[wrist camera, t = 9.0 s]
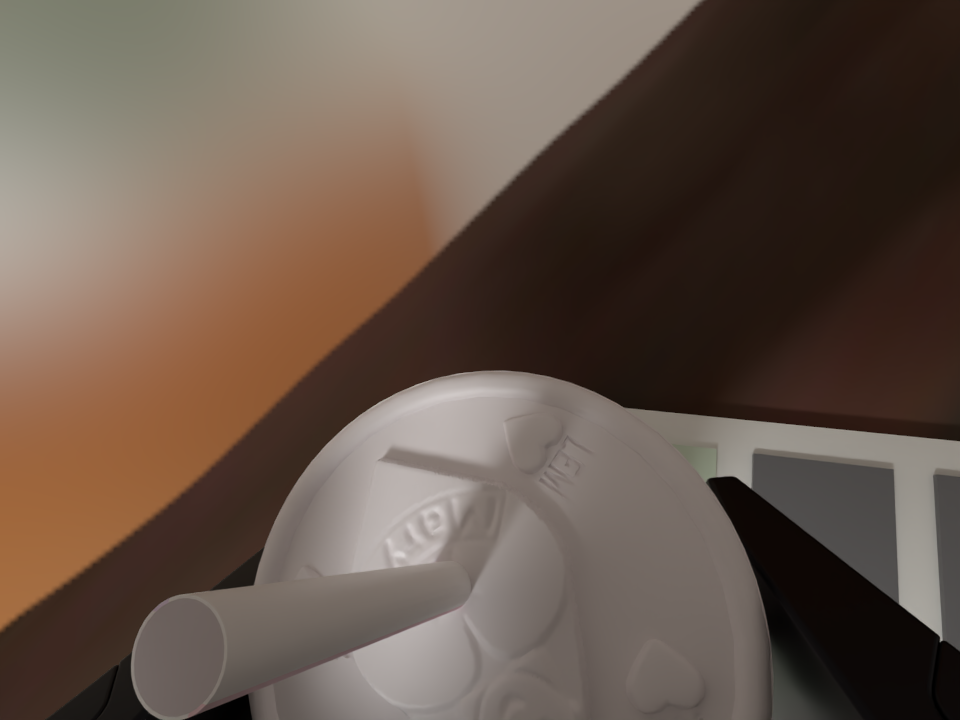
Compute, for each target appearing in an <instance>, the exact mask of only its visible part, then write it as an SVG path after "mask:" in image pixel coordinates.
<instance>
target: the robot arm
mask: <svg viewBox="0 0 960 720" xmlns="http://www.w3.org/2000/svg"><path fill="white" fill-rule="evenodd" d="M706 484H707V485H708V486H709V488H710V489H711V490H712V492H713V493H714V494H715V496H716V497H717V499H718V501H719V502H720V504H721V506H722V507H723V509H724V510H725V512H726V514H727V515H728V517H729V519H730V520H731V522H732V524H733V526H734V528H735V530H736V532H737V534H738V536H739V538H740V540H741V542H742V544H743V547H744V549H745V551H746V554H747V556H748V559H749V561H750V564H751V567H752V569H753V572H754V575H755V577H756V580H757V584H758V587H759V591H760V594H761V598H762V602H763V605H764V609H765V614H766V619H767V625H768V630H769V636H770V641H771V652H772V664H773V676H774V677H773V714H772V720H960V651H959V650H958V649H956V648H955V647H954V646H953V645H951V644H950V643H949V642H947V641H945V640H943V641H941V642H940V636H939V635H938V634H937V633H935V632H934V631H933V630H932V629H930V628H929V627H928V626H926V625H925V624H924V623H923V622H921V621H920V620H919V619H918V618H916V617H915V616H914V615H912V614H911V613H910V612H909V611H907V610H906V609H905V608H903V607H902V606H901V605H900V604H898V603H897V602H896V601H894V600H893V599H892V598H891V597H889V596H888V595H887V594H885V593H884V592H883V591H882V590H880V589H879V588H878V587H876V586H875V585H874V584H873V583H871V582H870V581H869V580H868V579H866V578H865V577H864V576H862V575H861V574H860V573H859V572H857V571H856V570H855V569H853V568H852V567H851V566H850V565H848V564H847V563H846V562H844V561H843V560H842V559H841V558H839V557H838V556H837V555H835V554H834V553H833V552H832V551H830V550H829V549H828V548H827V547H825V546H824V545H823V544H821V543H820V542H819V541H818V540H816V539H815V538H814V537H812V536H811V535H810V534H809V533H807V532H806V531H805V530H803V529H802V528H801V527H800V526H798V525H797V524H796V523H794V522H793V521H792V520H791V519H789V518H788V517H787V516H785V515H784V514H783V513H782V512H780V511H779V510H778V509H777V508H775V507H774V506H773V505H771V504H770V503H769V502H768V501H766V500H765V499H764V498H762V497H761V496H760V495H759V494H757V493H756V492H755V491H753V490H752V489H751V488H750V487H748V486H747V485H746V484H744V483H743V482H742V481H741V480H739V479H738V478H736V477H734V476H724V477H713V478H709V479H707V481H706ZM264 548H265V547H264ZM264 548H262V549H261V550H260V551H259V552H257V553H256V554H255V555H254V556H252V557H251V558H250V559H248V560H247V561H246V562H245V563H243V564H242V565H241V566H240V567H238V568H237V569H236V570H235V571H233V572H232V573H231V574H230V575H228V576H227V577H226V578H225V579H223V580H222V581H221V582H220V583H218V584H217V585H216V586H214V587H213V588H212V589H211V590H209V591H214V590H222V589H230V588H238V587H246V586H254V583H255V579H256V574H257V570H258V566H259V563H260V560H261V557H262V554H263V551H264ZM131 659H132V652H131V653H130V654H129V655H128V656H126V657H125V658H124V659H123V660H121V661H120V664H119V665H115V666H113V667H112V668H111V669H110V670H108V671H107V672H106V673H105V674H104V675H102V676H101V677H100V678H99V679H97V680H96V681H95V682H94V683H92V684H91V685H90V686H88V687H87V688H86V689H85V690H83V691H82V692H81V693H79V694H78V695H77V696H75V697H74V698H73V699H72V700H70V701H69V702H68V703H66V704H65V705H64V706H63V707H61V708H60V709H59V710H57V711H56V712H55V713H53V714H52V715H51V716H49V717H48V718H47V719H45V720H162V719H158V718H157V717H155V716H153V715H152V714H150V713H149V712H148V711H147V710H146V709H145V708H144V707H143V705H142V704H141V702H140V701H139V699H138V697H137V695H136V692H135V690H134V687H133V682H132V677H131ZM183 720H252V715H251V709H250V702H249V695H248V694H246V695H244V696H242V697H239V698H237V699H234V700H232V701H229V702H227V703H224V704H222V705H219V706H217V707H214V708H212V709H209V710H207V711H204V712H202V713H199V714H197V715H194V716H192V717H189V718H187V719H183Z"/></svg>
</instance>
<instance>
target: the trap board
mask: <svg viewBox="0 0 960 720" xmlns="http://www.w3.org/2000/svg"><path fill="white" fill-rule="evenodd" d="M625 409H627V410H628V411H630V412H632V413H633V414H635V415H636V416H638V417H639V418H641V419H642V420H643V421H644V422H646V423H647V424H648V425H650V426H651V427H652V428H654V429H655V430H656V431H657V432H659V433H660V434H661V435H662V436H663V437H664V438H665V439H666V440H668V441H669V442H670V443H671V444H672V445H673V446H674V447H675V448H676V449H677V450H678V451H679V452H680V453H681V454H682V455H683V456H684V457H685V458H686V459H687V461H688V462H689V463H690V464H691V465H692V466H693V467H694V468H695V470H696V471H697V472H698V473H699V474H700V476H701V477H702V478H703V480H704V481H705V482H706V481H707V479H709V478H713V477H724V476H734V477H736V478H738V479H739V480H741V481H742V482H743V483H744V484H746V485H747V486H748V487H750V488H751V489H752V490H753V491H755V492H756V493H757V494H759V495H760V496H761V497H762V498H764V499H765V500H766V501H768V502H769V503H770V504H771V505H773V506H774V507H775V508H777V509H778V510H779V511H780V512H782V513H783V514H784V515H785V516H787V517H788V518H789V519H791V520H792V521H793V522H794V523H796V524H797V525H798V526H800V527H801V528H802V529H803V530H805V531H806V532H807V533H809V534H810V535H811V536H812V537H814V538H815V539H816V540H818V541H819V542H820V543H821V544H823V545H824V546H825V547H827V548H828V549H829V550H830V551H832V552H833V553H834V554H835V555H837V556H838V557H839V558H841V559H842V560H843V561H844V562H846V563H847V564H848V565H850V566H851V567H852V568H853V569H855V570H856V571H857V572H859V573H860V574H861V575H862V576H864V577H865V578H866V579H868V580H869V581H870V582H871V583H873V584H874V585H875V586H876V587H878V588H879V589H880V590H882V591H883V592H884V593H885V594H887V595H888V596H889V597H891V598H892V599H893V600H894V601H896V602H897V603H898V604H900V605H901V606H902V607H903V608H905V609H906V610H907V611H909V612H910V613H911V614H912V615H914V616H915V617H916V618H918V619H919V620H920V621H921V622H923V623H924V624H925V625H926V626H928V627H929V628H930V629H932V630H933V631H934V632H935V633H937V634H938V635H939V636H940V642H941V641H943V640H945V641H947V642H949V643H950V644H951V645H953V646H954V647H955V648H956V649H958V650H959V651H960V441H950V440H940V439H930V438H920V437H910V436H900V435H890V434H880V433H870V432H860V431H850V430H840V429H830V428H820V427H810V426H800V425H790V424H780V423H770V422H760V421H750V420H740V419H730V418H720V417H710V416H700V415H690V414H680V413H670V412H660V411H650V410H640V409H630V408H625Z"/></svg>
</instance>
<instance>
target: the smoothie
mask: <svg viewBox="0 0 960 720" xmlns="http://www.w3.org/2000/svg"><path fill="white" fill-rule="evenodd" d="M131 677H132V682H133V687H134V690H135V692H136V695H137V697H138V699H139V701H140V702H141V704H142V705H143V707H144V708H145V709H146V710H147V711H148V712H149V713H150V714H152V715H153V716H155V717H157V718H158V719H162V720H183V719H187V718H189V717H192V716H194V715H197V714H199V713H202V712H204V711H207V710H209V709H212V708H214V707H217V706H219V705H222V704H224V703H227V702H229V701H232V700H234V699H237V698H239V697H242V696H244V695H246V694H248V695H249V702H250V709H251V715H252V720H772V714H773V677H774V676H773V664H772V652H771V641H770V636H769V630H768V625H767V619H766V614H765V609H764V605H763V602H762V598H761V594H760V591H759V587H758V584H757V580H756V577H755V575H754V572H753V569H752V567H751V564H750V561H749V559H748V556H747V554H746V551H745V549H744V547H743V544H742V542H741V540H740V538H739V536H738V534H737V532H736V530H735V528H734V526H733V524H732V522H731V520H730V519H729V517H728V515H727V514H726V512H725V510H724V509H723V507H722V506H721V504H720V502H719V501H718V499H717V497H716V496H715V494H714V493H713V492H712V490H711V489H710V488H709V486H708V485H707V484H706V482H705V481H704V480H703V478H702V477H701V476H700V474H699V473H698V472H697V471H696V470H695V468H694V467H693V466H692V465H691V464H690V463H689V462H688V461H687V459H686V458H685V457H684V456H683V455H682V454H681V453H680V452H679V451H678V450H677V449H676V448H675V447H674V446H673V445H672V444H671V443H670V442H669V441H668V440H666V439H665V438H664V437H663V436H662V435H661V434H660V433H659V432H657V431H656V430H655V429H654V428H652V427H651V426H650V425H648V424H647V423H646V422H644V421H643V420H642V419H641V418H639V417H638V416H636V415H635V414H633V413H632V412H630V411H628V410H627V409H625V408H624V407H622V406H620V405H619V404H617V403H615V402H613V401H611V400H609V399H607V398H605V397H603V396H601V395H599V394H598V393H596V392H593V391H591V390H588V389H586V388H583V387H580V386H578V385H575V384H573V383H570V382H566V381H563V380H559V379H556V378H552V377H548V376H543V375H537V374H532V373H526V372H514V371H477V372H468V373H460V374H455V375H450V376H445V377H441V378H436V379H433V380H430V381H427V382H424V383H421V384H418V385H415V386H413V387H410V388H408V389H406V390H403V391H401V392H399V393H396V394H394V395H393V396H391V397H389V398H387V399H385V400H383V401H381V402H380V403H378V404H376V405H375V406H373V407H372V408H370V409H369V410H367V411H366V412H364V413H363V414H361V415H360V416H358V417H357V418H356V419H355V420H353V421H352V422H351V423H350V424H348V425H347V426H346V427H345V428H343V429H342V430H341V431H340V432H339V433H338V434H337V435H336V436H335V437H334V438H333V439H332V440H331V441H330V442H329V443H328V444H327V445H326V446H325V447H324V448H323V449H322V450H321V451H320V453H319V454H318V455H317V456H316V457H315V458H314V459H313V461H312V462H311V463H310V464H309V466H308V467H307V469H306V470H305V471H304V473H303V474H302V475H301V477H300V478H299V479H298V481H297V482H296V484H295V486H294V487H293V489H292V491H291V492H290V494H289V495H288V497H287V499H286V500H285V502H284V504H283V506H282V508H281V510H280V512H279V514H278V516H277V518H276V520H275V522H274V525H273V527H272V530H271V532H270V534H269V537H268V539H267V542H266V544H265V548H264V551H263V554H262V557H261V560H260V563H259V566H258V570H257V574H256V579H255V583H254V586H246V587H238V588H230V589H222V590H214V591H206V592H199V593H191V594H183V595H177V596H174V597H171V598H169V599H167V600H165V601H164V602H162V603H160V604H159V605H158V606H157V607H156V608H155V609H154V610H153V611H152V612H151V613H150V614H149V615H148V617H147V618H146V619H145V621H144V623H143V624H142V626H141V628H140V630H139V632H138V635H137V637H136V640H135V643H134V647H133V651H132V659H131Z"/></svg>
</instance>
